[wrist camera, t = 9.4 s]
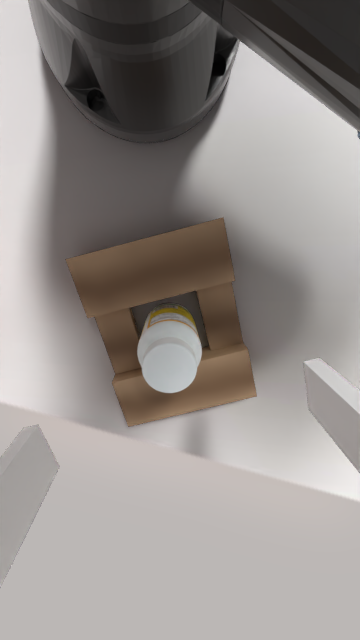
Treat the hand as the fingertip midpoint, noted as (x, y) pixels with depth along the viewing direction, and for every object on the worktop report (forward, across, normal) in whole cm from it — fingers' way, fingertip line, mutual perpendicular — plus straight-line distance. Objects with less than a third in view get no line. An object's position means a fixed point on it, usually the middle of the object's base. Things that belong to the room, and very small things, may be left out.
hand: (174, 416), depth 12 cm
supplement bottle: (+16, 0, -1) cm, 16 cm away
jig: (+16, 0, 0) cm, 16 cm away
